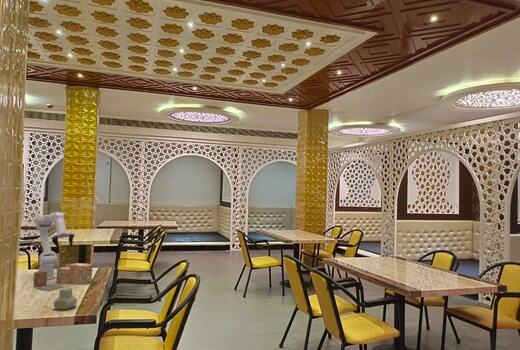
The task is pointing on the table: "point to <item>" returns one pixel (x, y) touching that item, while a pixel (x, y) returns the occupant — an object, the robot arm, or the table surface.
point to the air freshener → (65, 299)
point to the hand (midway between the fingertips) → (65, 247)
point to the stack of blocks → (75, 274)
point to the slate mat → (49, 287)
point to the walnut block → (40, 279)
